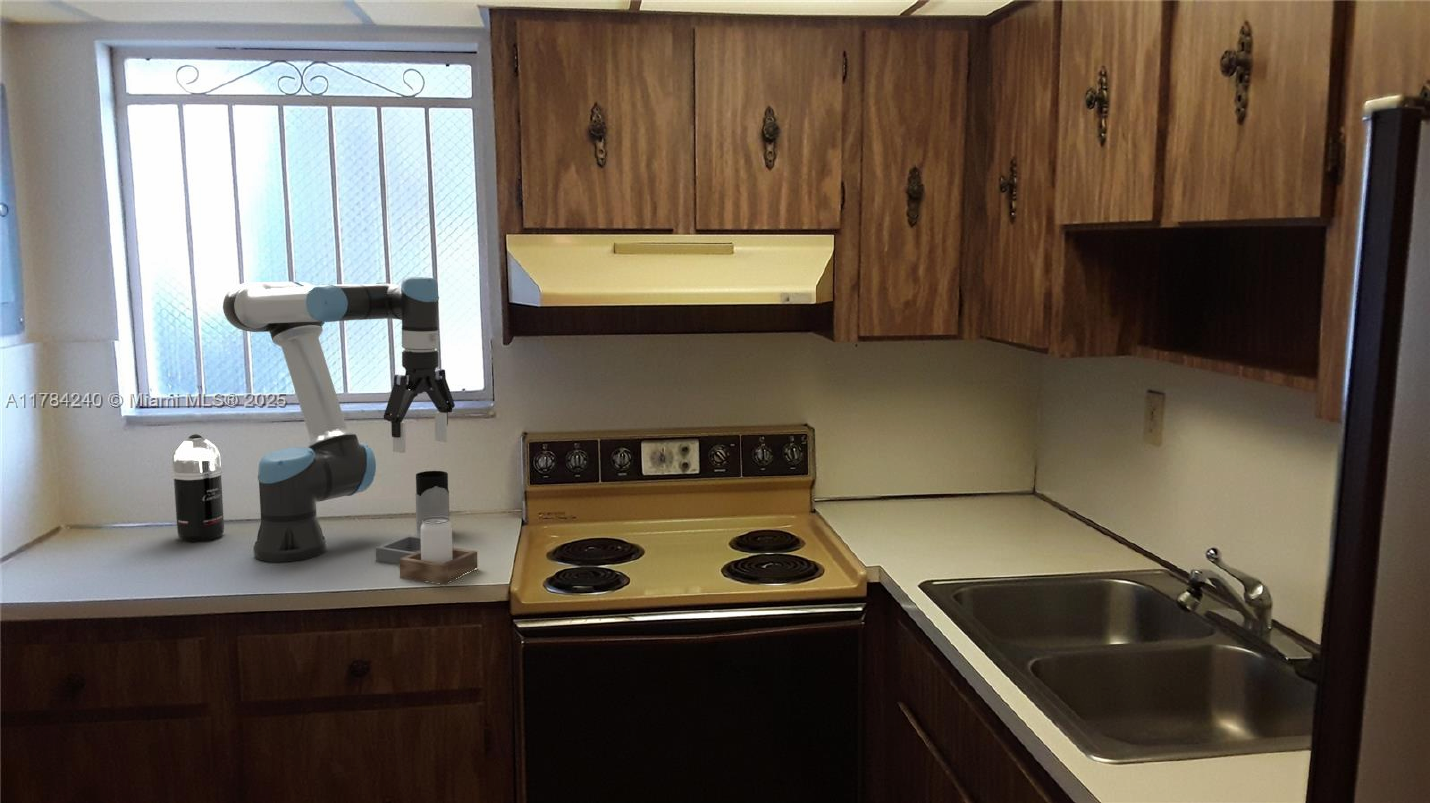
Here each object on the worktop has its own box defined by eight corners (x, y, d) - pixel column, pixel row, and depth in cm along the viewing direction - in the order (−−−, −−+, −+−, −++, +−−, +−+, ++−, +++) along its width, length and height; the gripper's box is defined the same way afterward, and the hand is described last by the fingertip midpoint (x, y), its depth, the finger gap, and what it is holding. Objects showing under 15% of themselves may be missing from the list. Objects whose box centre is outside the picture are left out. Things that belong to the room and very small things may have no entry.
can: (443, 580, 208) (441, 524, 206) (415, 577, 210) (414, 522, 208) (458, 570, 214) (457, 517, 213) (431, 567, 216) (430, 514, 214)
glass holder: (419, 540, 236) (417, 479, 234) (406, 526, 248) (404, 467, 246) (455, 536, 240) (454, 476, 238) (441, 522, 253) (439, 464, 250)
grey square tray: (376, 560, 220) (375, 547, 220) (409, 547, 230) (408, 535, 230) (416, 567, 216) (415, 554, 216) (447, 553, 226) (447, 541, 226)
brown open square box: (399, 577, 209) (399, 558, 209) (434, 562, 220) (434, 544, 219) (444, 584, 205) (443, 566, 205) (477, 569, 216) (477, 551, 215)
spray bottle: (166, 540, 233) (159, 436, 229) (203, 529, 242) (197, 429, 239) (198, 545, 229) (192, 439, 225) (235, 534, 239) (229, 432, 235)
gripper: (393, 356, 199) (394, 459, 203) (470, 346, 222) (470, 438, 225) (364, 353, 202) (366, 454, 206) (443, 343, 225) (443, 434, 228)
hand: (420, 446), depth 216 cm, fingers open, 13 cm apart
